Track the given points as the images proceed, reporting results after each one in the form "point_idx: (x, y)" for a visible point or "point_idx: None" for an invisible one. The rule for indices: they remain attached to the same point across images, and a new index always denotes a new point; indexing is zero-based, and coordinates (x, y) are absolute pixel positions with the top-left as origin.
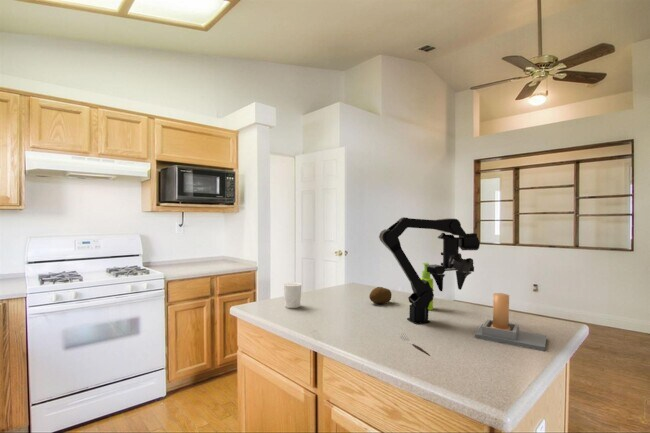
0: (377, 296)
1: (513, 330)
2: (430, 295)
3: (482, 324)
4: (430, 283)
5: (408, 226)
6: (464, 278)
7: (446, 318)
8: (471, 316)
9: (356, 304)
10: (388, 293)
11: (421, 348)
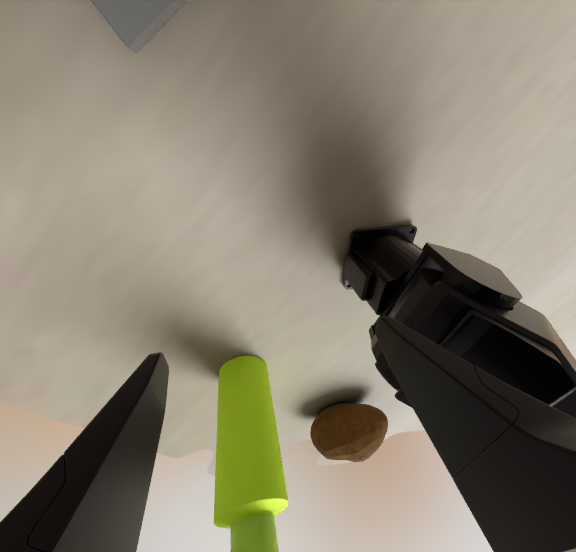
0: (375, 418)
1: None
2: (475, 279)
3: (129, 39)
4: (247, 477)
5: None
6: (23, 524)
7: (246, 262)
8: (95, 263)
9: (397, 399)
10: (339, 435)
11: None
